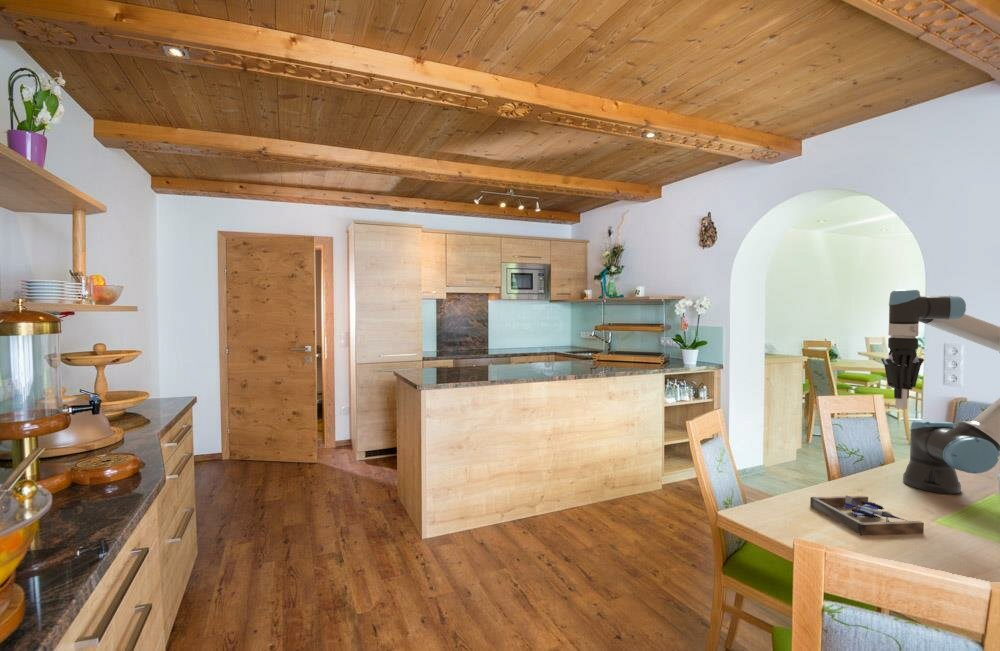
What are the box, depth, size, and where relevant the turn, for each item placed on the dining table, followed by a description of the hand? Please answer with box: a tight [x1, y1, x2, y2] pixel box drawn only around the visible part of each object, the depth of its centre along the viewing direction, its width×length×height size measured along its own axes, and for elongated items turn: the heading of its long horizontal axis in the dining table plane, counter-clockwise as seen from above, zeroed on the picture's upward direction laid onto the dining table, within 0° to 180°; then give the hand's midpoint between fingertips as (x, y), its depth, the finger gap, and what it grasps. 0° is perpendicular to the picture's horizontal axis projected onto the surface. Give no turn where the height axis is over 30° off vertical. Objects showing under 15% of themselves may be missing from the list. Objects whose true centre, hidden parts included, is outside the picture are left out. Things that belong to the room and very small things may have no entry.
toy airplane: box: [842, 495, 908, 522], centre depth 141 cm, size 13×14×4 cm
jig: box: [809, 495, 925, 537], centre depth 141 cm, size 18×19×3 cm
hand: (901, 408), depth 157 cm, fingers closed
